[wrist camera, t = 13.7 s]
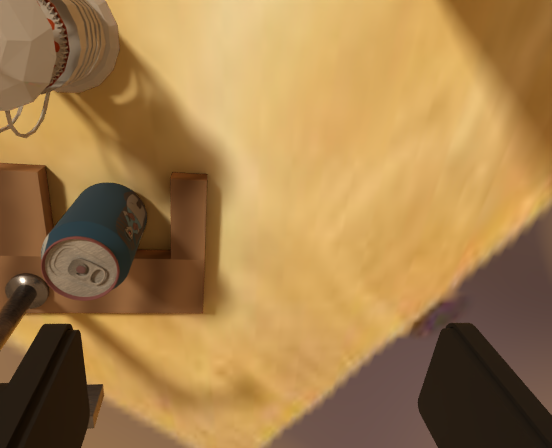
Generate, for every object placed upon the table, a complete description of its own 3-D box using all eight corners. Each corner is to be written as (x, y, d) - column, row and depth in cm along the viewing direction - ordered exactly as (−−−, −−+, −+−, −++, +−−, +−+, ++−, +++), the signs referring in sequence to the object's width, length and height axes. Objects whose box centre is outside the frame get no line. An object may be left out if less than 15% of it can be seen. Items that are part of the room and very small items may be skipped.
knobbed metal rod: (133, 274, 44) (86, 416, 28) (135, 305, 46) (91, 456, 30) (4, 272, 42) (-125, 424, 26) (11, 305, 44) (-108, 466, 28)
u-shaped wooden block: (207, 174, 43) (206, 180, 41) (203, 302, 49) (202, 313, 48) (-29, 161, 39) (-41, 167, 38) (0, 301, 46) (-8, 312, 44)
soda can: (67, 220, 43) (17, 284, 32) (96, 165, 41) (54, 214, 30) (130, 250, 45) (103, 319, 35) (160, 199, 43) (142, 256, 33)
